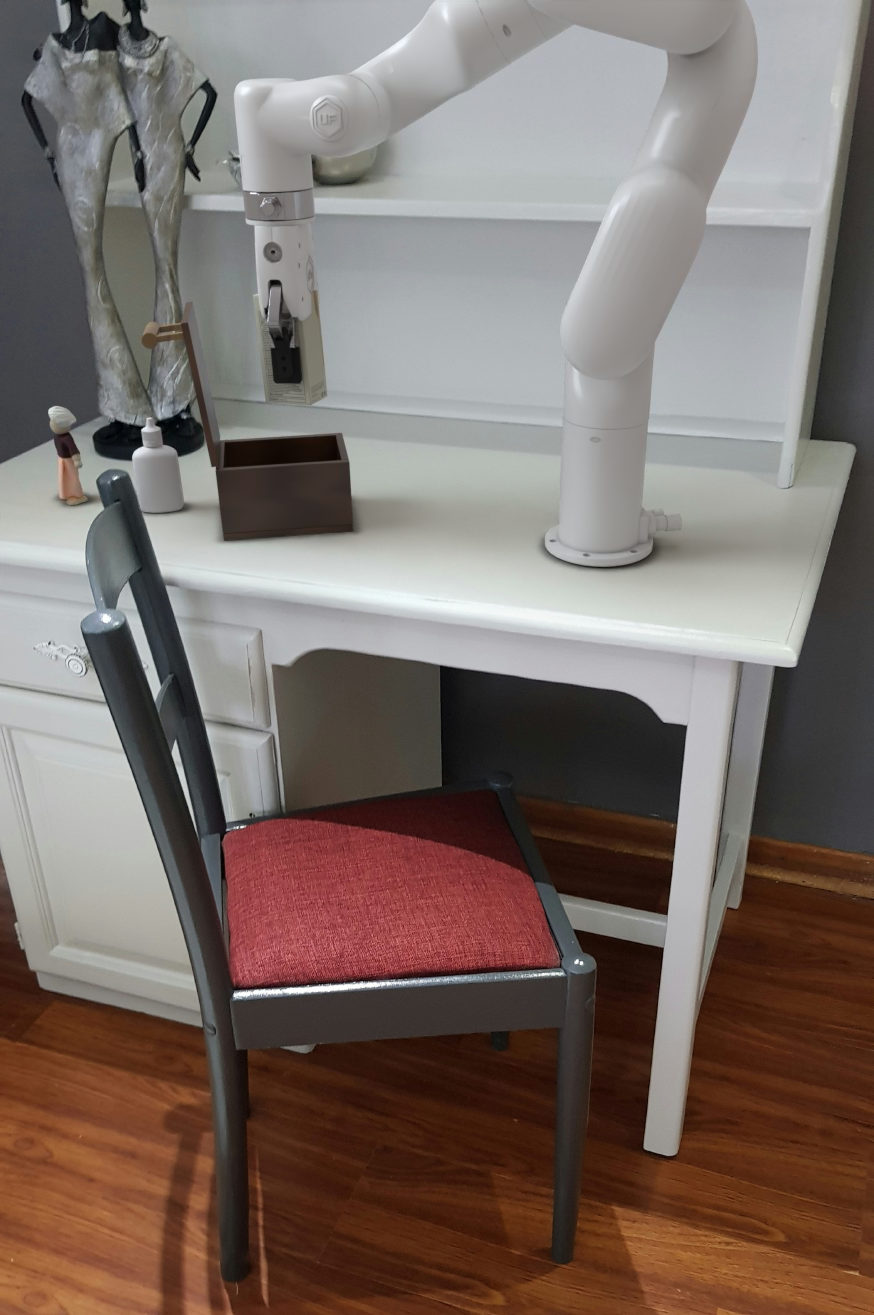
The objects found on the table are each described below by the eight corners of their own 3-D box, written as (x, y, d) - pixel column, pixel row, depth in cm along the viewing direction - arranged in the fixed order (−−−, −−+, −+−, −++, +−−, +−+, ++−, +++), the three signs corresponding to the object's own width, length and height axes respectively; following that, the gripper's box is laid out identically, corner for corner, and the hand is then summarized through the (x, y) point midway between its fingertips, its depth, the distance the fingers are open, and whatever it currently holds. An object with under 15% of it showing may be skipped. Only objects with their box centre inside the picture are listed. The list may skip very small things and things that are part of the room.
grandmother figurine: (46, 497, 149) (28, 404, 143) (72, 490, 152) (55, 398, 146) (77, 511, 145) (60, 415, 138) (103, 503, 147) (87, 408, 141)
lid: (192, 301, 132) (143, 308, 132) (187, 322, 122) (135, 329, 122) (220, 436, 141) (174, 443, 140) (218, 466, 130) (168, 473, 130)
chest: (346, 498, 147) (342, 432, 143) (353, 531, 137) (349, 461, 133) (225, 506, 145) (217, 440, 141) (223, 540, 135) (215, 470, 131)
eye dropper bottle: (154, 500, 148) (141, 411, 142) (190, 505, 146) (178, 415, 140) (134, 511, 144) (120, 421, 138) (170, 517, 142) (157, 425, 136)
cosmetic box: (328, 397, 130) (321, 289, 124) (311, 407, 127) (302, 296, 121) (280, 393, 132) (271, 286, 127) (262, 402, 129) (251, 293, 123)
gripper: (297, 218, 112) (310, 396, 120) (329, 197, 127) (339, 358, 135) (224, 218, 112) (243, 396, 121) (264, 198, 127) (278, 357, 136)
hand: (293, 374), depth 128 cm, fingers closed on cosmetic box, 5 cm apart
